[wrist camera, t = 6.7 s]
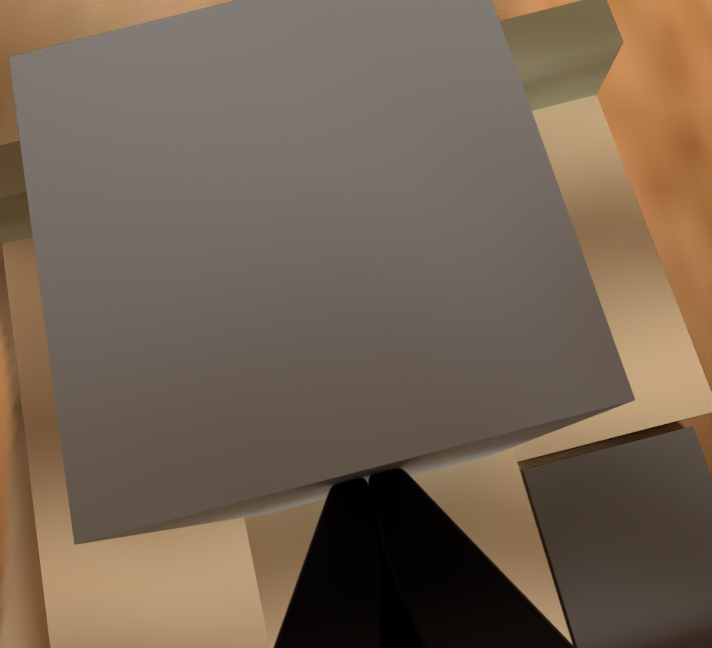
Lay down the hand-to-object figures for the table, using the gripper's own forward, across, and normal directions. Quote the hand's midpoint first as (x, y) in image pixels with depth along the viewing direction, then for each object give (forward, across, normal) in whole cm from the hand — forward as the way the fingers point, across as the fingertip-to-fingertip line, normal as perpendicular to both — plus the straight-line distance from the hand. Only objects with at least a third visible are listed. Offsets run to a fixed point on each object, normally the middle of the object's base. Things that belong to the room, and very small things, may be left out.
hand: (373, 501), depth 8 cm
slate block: (+7, 0, +3) cm, 7 cm away
